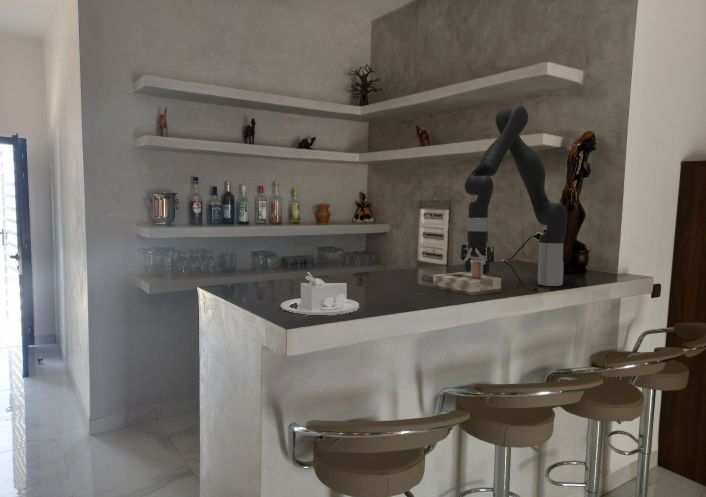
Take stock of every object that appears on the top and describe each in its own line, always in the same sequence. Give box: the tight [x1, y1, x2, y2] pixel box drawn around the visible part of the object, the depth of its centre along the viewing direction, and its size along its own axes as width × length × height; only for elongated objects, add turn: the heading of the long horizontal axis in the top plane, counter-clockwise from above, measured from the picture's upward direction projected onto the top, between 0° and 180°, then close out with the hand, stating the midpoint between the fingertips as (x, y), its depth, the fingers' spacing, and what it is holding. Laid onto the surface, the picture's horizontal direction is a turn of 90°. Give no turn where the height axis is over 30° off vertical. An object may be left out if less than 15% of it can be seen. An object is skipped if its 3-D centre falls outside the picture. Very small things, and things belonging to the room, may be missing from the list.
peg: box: [472, 260, 481, 279], centre depth 192 cm, size 5×5×10 cm
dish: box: [280, 271, 360, 316], centre depth 162 cm, size 25×25×11 cm
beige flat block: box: [432, 271, 502, 297], centre depth 197 cm, size 20×16×5 cm
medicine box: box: [464, 260, 486, 276], centre depth 217 cm, size 8×4×9 cm, turn 65°
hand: (476, 273), depth 192 cm, fingers open, 8 cm apart
